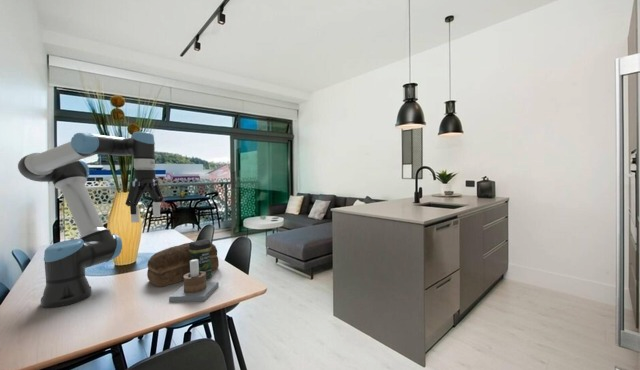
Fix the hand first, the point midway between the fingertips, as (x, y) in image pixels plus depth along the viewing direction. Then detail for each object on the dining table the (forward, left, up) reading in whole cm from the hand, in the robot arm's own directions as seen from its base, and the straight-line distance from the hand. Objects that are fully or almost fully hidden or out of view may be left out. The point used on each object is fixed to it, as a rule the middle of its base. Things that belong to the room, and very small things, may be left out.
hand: (146, 219), depth 113 cm
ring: (+21, -2, -29) cm, 36 cm away
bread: (+5, +19, -32) cm, 38 cm away
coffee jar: (+16, +14, -32) cm, 38 cm away
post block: (+21, -2, -31) cm, 38 cm away
